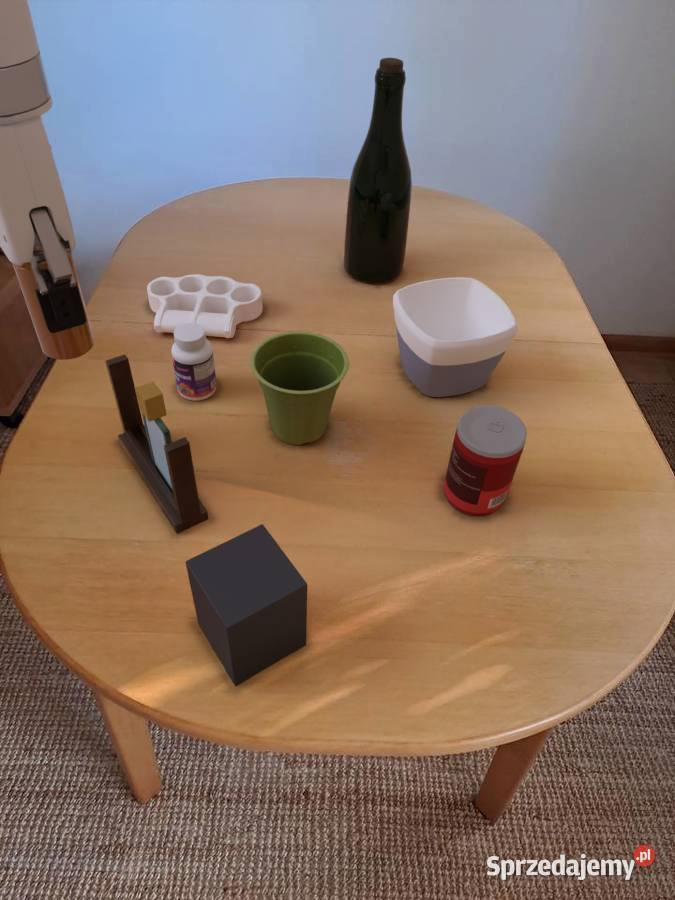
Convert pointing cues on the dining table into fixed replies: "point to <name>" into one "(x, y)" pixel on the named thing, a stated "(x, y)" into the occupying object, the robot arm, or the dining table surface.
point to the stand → (249, 602)
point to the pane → (155, 426)
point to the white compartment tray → (203, 303)
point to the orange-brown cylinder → (52, 344)
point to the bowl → (451, 334)
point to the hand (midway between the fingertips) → (57, 309)
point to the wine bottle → (380, 186)
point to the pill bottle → (193, 362)
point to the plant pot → (299, 382)
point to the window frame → (184, 500)
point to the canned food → (483, 459)
